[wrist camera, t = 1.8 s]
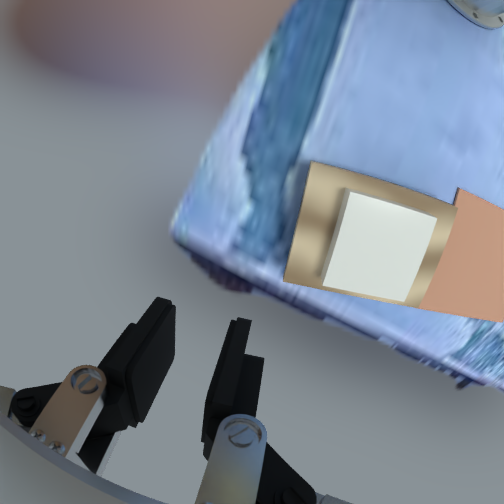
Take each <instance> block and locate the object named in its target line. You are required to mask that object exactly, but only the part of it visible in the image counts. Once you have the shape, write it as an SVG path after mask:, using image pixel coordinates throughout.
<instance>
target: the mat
mask: <svg viewBox="0 0 504 504" xmlns="http://www.w3.org/2000/svg"><path fill="white" fill-rule="evenodd" d="M453 205H454V206H455V207H457V208H458V210H457V214H456V217H455V220H454V223H453V226H452V229H451V232H450V234H449V237H448V240H447V243H446V245H445V248H444V251H443V253H442V256H441V258H440V261H439V263H438V266H437V268H436V271H435V273H434V275H433V278H432V280H431V282H430V284H429V286H428V289H427V291H426V293H425V295H424V297H423V299H422V301H421V303H420V306H419V308H418V309H424V310H430V311H435V312H441V313H447V314H453V315H458V316H464V317H470V318H477V319H483V320H489V321H495V322H503V320H504V210H503V209H501V208H499V207H497V206H495V205H494V204H492V203H490V202H488V201H486V200H483V199H481V198H479V197H477V196H475V195H473V194H471V193H469V192H467V191H464V190H462V189H460V188H458V190H457V194H456V197H455V201H454V204H453ZM414 308H415V307H414Z"/></svg>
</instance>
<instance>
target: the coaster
mask: <svg viewBox="0 0 504 504" xmlns="http://www.w3.org/2000/svg"><path fill="white" fill-rule="evenodd" d="M436 221H437V218H436V217H435V216H433V215H432V214H430V213H429V212H426V211H423V210H420V209H417V208H414V207H411V206H408V205H404V204H401V203H398V202H395V201H392V200H388V199H385V198H382V197H378V196H375V195H372V194H368V193H364V192H361V191H357V190H354V189H350V188H346V189H345V193H344V197H343V201H342V205H341V208H340V212H339V216H338V219H337V223H336V226H335V230H334V233H333V237H332V240H331V244H330V247H329V251H328V254H327V257H326V260H325V264H324V267H323V270H322V273H321V280H322V286H327V287H331V288H336V289H341V290H346V291H351V292H356V293H361V294H366V295H371V296H376V297H381V298H387V299H392V300H397V301H402V302H405V299H406V297H407V295H408V293H409V291H410V288H411V286H412V284H413V282H414V279H415V277H416V275H417V272H418V270H419V267H420V265H421V262H422V260H423V257H424V255H425V252H426V249H427V247H428V244H429V241H430V239H431V236H432V233H433V230H434V227H435V224H436Z"/></svg>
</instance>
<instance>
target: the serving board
mask: <svg viewBox="0 0 504 504" xmlns="http://www.w3.org/2000/svg"><path fill="white" fill-rule="evenodd" d="M346 188H350V189H354V190H357V191H361V192H364V193H368V194H372V195H375V196H378V197H382V198H385V199H388V200H392V201H395V202H398V203H401V204H404V205H408V206H411V207H414V208H417V209H420V210H423V211H426V212H429V213H430V214H432V215H433V216H435V217H436V218H437V221H436V224H435V227H434V230H433V233H432V236H431V239H430V241H429V244H428V247H427V249H426V252H425V255H424V257H423V260H422V262H421V265H420V267H419V270H418V272H417V275H416V277H415V279H414V282H413V284H412V286H411V288H410V291H409V293H408V295H407V297H406V299H405V302H402V301H397V300H392V299H387V298H381V297H376V296H371V295H366V294H361V293H356V292H351V291H346V290H341V289H336V288H331V287H327V286H322V280H321V273H322V270H323V267H324V264H325V260H326V257H327V254H328V251H329V247H330V244H331V240H332V237H333V233H334V230H335V226H336V223H337V219H338V216H339V212H340V208H341V205H342V201H343V197H344V193H345V189H346ZM457 210H458V208H457V207H455V206H454V205H452V204H449V203H447V202H444V201H442V200H439V199H436V198H434V197H431V196H428V195H426V194H423V193H420V192H417V191H414V190H412V189H409V188H406V187H403V186H400V185H397V184H394V183H391V182H387V181H384V180H381V179H378V178H374V177H371V176H368V175H364V174H361V173H357V172H354V171H350V170H347V169H343V168H339V167H335V166H331V165H328V164H324V163H319V162H315V161H310V166H309V170H308V175H307V179H306V184H305V188H304V193H303V197H302V201H301V206H300V210H299V214H298V218H297V222H296V227H295V231H294V235H293V239H292V243H291V247H290V251H289V255H288V259H287V263H286V267H285V271H284V275H283V282H288V283H293V284H297V285H302V286H307V287H312V288H317V289H322V290H326V291H331V292H336V293H341V294H346V295H351V296H356V297H362V298H367V299H372V300H377V301H382V302H388V303H393V304H398V305H404V306H409V307H415V308H419V306H420V303H421V301H422V299H423V297H424V295H425V293H426V291H427V289H428V286H429V284H430V282H431V280H432V278H433V275H434V273H435V271H436V268H437V266H438V263H439V261H440V258H441V256H442V253H443V251H444V248H445V245H446V243H447V240H448V237H449V234H450V232H451V229H452V226H453V223H454V220H455V217H456V214H457Z"/></svg>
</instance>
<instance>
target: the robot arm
mask: <svg viewBox="0 0 504 504" xmlns="http://www.w3.org/2000/svg"><path fill="white" fill-rule="evenodd" d="M448 1H449V3H450V4H451V5H452V6H453V7H454V8H456V9H457V10H458V11H459V12H460V13H461V14H462V15H464V16H465V17H466V18H468V19H469V20H471V21H472V22H474V23H475V24H477V25H479V26H481V27H484V28H487V29H497V28H499V27H502V26H503V25H504V0H448ZM175 314H176V307H175V305H172V302H171V300H167V299H164V298H160V297H157V298H156V299H155V300H154V301H153V302H152V304H151V305H150V306H149V308H148V309H147V311H146V312H145V313H144V314H143V316H142V317H141V319H140V320H139V321H138V323H137V324H134V323H130V324H129V325H128V326H127V328H126V329H125V330H124V332H123V333H122V334H121V335H120V337H119V338H118V339H117V341H116V342H115V343H114V345H113V346H112V347H111V349H110V350H109V352H108V353H107V354H106V356H105V357H104V358H103V360H102V361H101V362H100V364H99V365H98V367H95V366H92V365H81V366H78V367H76V368H74V369H73V370H72V371H70V372H69V374H68V375H67V376H66V378H65V379H64V381H63V382H61V383H54V384H49V385H44V386H38V387H32V388H25V389H22V390H20V391H18V392H16V391H15V389H12V388H8V387H4V386H0V504H167V503H163V502H161V501H157V500H155V499H152V498H149V497H146V496H143V495H141V494H138V493H136V492H133V491H130V490H128V489H126V488H124V487H121V486H119V485H117V484H114V483H112V482H110V481H108V480H106V479H104V478H102V477H101V476H102V474H103V471H104V469H105V467H106V465H107V463H108V460H109V458H110V456H111V454H112V451H113V449H114V447H115V445H116V443H117V441H118V438H119V436H120V434H121V431H122V430H125V429H127V427H128V425H130V426H132V427H135V428H136V426H137V424H138V422H141V423H142V422H143V421H144V420H145V418H146V416H147V414H148V411H149V409H150V407H151V405H152V403H153V401H154V399H155V397H156V395H157V393H158V390H159V388H160V386H161V384H162V382H163V380H164V378H165V376H166V374H167V372H168V370H169V368H170V366H171V364H172V362H173V360H174V355H175ZM251 322H252V320H248V319H244V318H239V317H238V318H237V321H235V320H231V322H230V325H229V328H228V331H227V334H226V337H225V341H224V344H223V347H222V350H221V353H220V356H219V359H218V362H217V365H216V368H215V371H214V374H213V377H212V380H211V383H210V386H209V390H208V393H207V397H206V402H205V408H204V419H203V427H202V438H201V442H204V450H203V455H204V457H205V458H206V460H207V461H208V463H207V466H206V470H205V473H204V476H203V479H202V482H201V485H200V488H199V492H198V495H197V498H196V501H195V504H352V503H349V502H346V501H343V500H340V499H338V498H335V497H332V496H330V495H325V496H324V495H321V494H319V493H316V492H315V491H314V489H313V488H312V487H311V486H310V485H309V484H308V483H307V482H306V481H305V480H304V479H303V478H302V477H301V476H300V475H299V474H298V473H297V472H296V471H294V469H292V468H291V467H290V466H289V465H288V464H287V463H286V462H285V461H284V460H283V459H282V458H281V457H280V456H279V455H278V454H277V453H276V451H275V450H274V449H273V448H272V447H271V446H270V445H269V444H268V443H267V442H266V441H267V431H266V429H265V427H264V425H263V424H262V423H261V422H260V421H259V420H258V419H256V418H255V417H256V411H257V405H258V398H259V392H260V385H261V378H262V372H263V365H264V358H262V357H257V356H252V355H248V354H244V353H245V348H246V343H247V340H248V335H249V331H250V326H251Z"/></svg>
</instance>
